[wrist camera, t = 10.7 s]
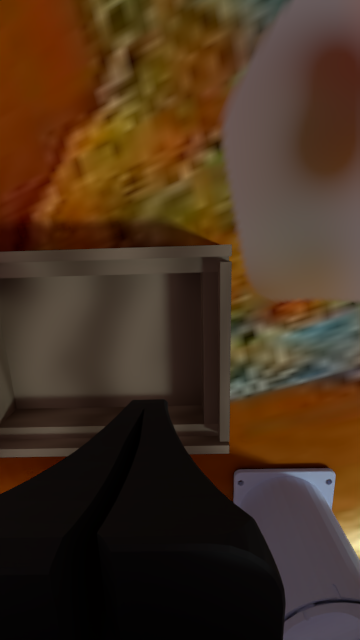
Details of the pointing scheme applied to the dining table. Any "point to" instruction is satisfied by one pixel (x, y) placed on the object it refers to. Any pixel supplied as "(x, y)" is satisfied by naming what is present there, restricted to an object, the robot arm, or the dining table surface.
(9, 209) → the dining table surface
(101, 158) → the dining table surface
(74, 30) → the dining table surface
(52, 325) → the walnut box
